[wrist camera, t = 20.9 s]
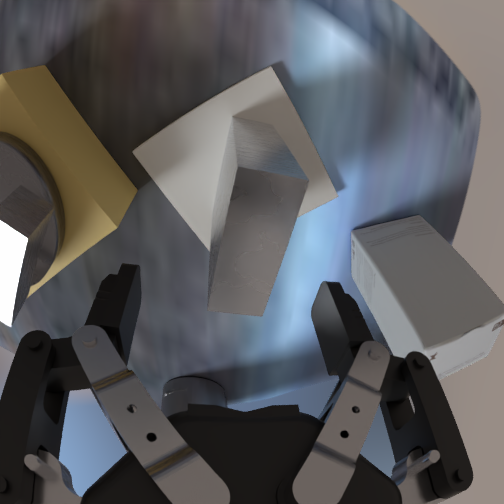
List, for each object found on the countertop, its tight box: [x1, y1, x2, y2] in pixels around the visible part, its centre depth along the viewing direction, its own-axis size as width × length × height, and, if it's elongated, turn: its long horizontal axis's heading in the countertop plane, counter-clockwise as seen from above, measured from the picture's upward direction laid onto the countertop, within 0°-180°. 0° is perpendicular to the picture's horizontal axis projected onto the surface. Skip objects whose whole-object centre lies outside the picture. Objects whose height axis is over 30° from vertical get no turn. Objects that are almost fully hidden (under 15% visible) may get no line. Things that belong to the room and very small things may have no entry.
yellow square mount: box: [0, 65, 138, 299], centre depth 20 cm, size 14×14×6 cm
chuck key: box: [207, 116, 309, 316], centre depth 19 cm, size 3×8×11 cm, turn 167°
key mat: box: [132, 66, 338, 251], centre depth 24 cm, size 12×12×1 cm
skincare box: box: [351, 215, 504, 380], centre depth 24 cm, size 8×6×15 cm
